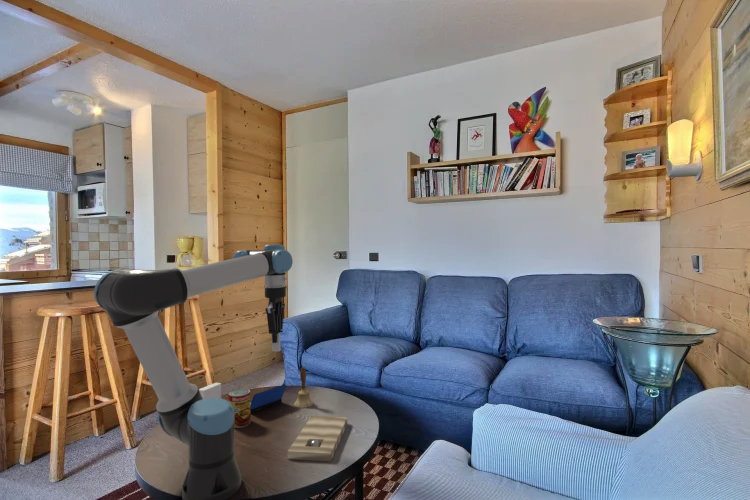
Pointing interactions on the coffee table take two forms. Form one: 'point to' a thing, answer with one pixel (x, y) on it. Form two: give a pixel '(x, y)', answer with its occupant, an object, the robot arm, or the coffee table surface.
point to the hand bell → (303, 393)
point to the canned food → (240, 407)
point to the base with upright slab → (211, 391)
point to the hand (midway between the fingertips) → (276, 350)
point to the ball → (315, 443)
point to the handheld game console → (267, 398)
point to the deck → (318, 438)
